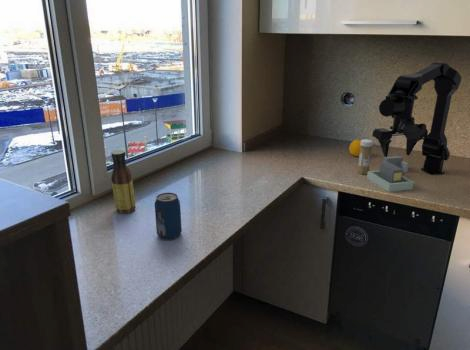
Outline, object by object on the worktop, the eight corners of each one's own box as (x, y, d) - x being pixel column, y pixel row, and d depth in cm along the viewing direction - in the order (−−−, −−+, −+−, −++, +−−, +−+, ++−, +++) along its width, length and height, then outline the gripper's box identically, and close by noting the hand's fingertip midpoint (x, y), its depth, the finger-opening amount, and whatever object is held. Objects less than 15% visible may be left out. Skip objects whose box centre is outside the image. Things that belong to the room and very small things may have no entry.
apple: (345, 154, 184) (346, 138, 181) (358, 152, 187) (360, 136, 185) (356, 159, 177) (358, 142, 175) (370, 156, 180) (372, 140, 178)
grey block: (388, 177, 154) (390, 162, 151) (401, 185, 146) (403, 169, 144) (378, 178, 153) (380, 163, 151) (391, 186, 145) (393, 170, 143)
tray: (389, 175, 157) (390, 169, 156) (412, 189, 145) (413, 182, 144) (366, 178, 155) (367, 171, 154) (388, 191, 142) (389, 184, 141)
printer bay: (397, 166, 167) (399, 155, 166) (407, 172, 161) (409, 160, 160) (381, 168, 166) (383, 157, 164) (391, 173, 160) (393, 161, 158)
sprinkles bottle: (367, 175, 158) (371, 142, 153) (355, 173, 160) (359, 141, 155) (370, 171, 162) (374, 139, 157) (358, 170, 164) (362, 138, 159)
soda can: (182, 229, 116) (180, 191, 112) (180, 241, 110) (178, 201, 106) (158, 229, 116) (156, 191, 112) (155, 241, 110) (152, 202, 105)
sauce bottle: (128, 204, 132) (122, 147, 125) (139, 209, 129) (134, 150, 122) (111, 211, 128) (104, 151, 121) (123, 216, 124) (116, 155, 117)
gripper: (394, 119, 129) (387, 165, 134) (442, 116, 133) (434, 160, 139) (374, 112, 139) (369, 155, 144) (420, 110, 143) (413, 151, 149)
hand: (396, 156), depth 144 cm, fingers open, 9 cm apart
